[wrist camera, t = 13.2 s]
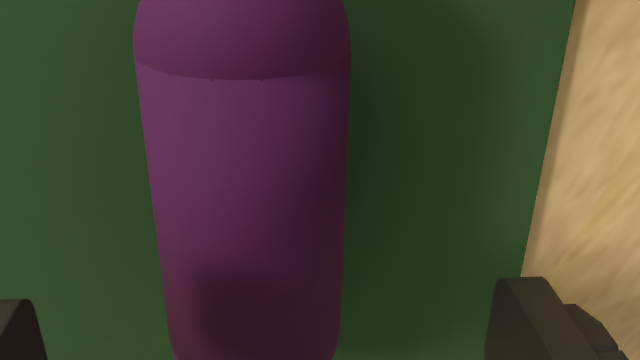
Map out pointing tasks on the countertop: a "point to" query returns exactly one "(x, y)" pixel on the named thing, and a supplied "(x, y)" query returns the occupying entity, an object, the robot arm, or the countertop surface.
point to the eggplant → (247, 171)
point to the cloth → (361, 177)
